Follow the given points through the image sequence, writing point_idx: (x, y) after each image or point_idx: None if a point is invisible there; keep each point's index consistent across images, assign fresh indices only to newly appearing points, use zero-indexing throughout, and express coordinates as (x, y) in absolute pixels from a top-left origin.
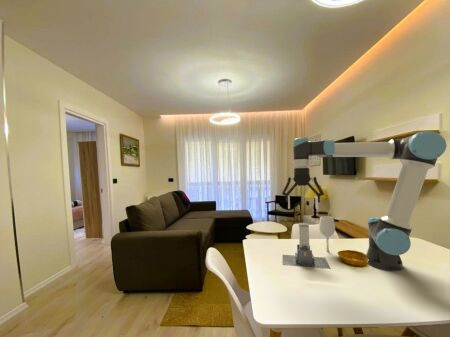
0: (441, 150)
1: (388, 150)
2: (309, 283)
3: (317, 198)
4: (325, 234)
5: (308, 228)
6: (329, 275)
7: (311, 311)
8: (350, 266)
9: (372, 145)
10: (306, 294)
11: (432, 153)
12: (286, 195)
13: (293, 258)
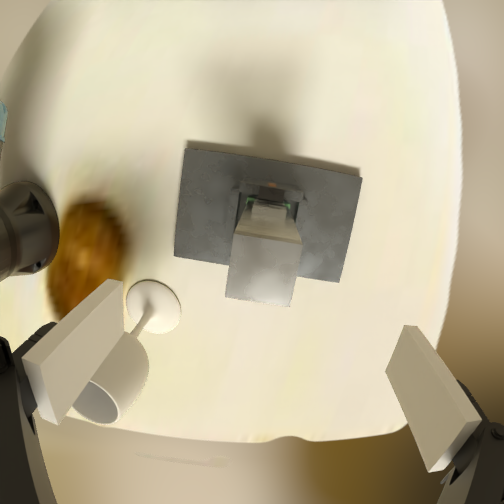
0: None
1: None
2: (292, 56)
3: (41, 343)
4: (132, 335)
5: (237, 228)
6: (204, 115)
7: None
8: (110, 198)
9: None
10: (316, 3)
11: None
12: (499, 428)
13: (304, 243)
